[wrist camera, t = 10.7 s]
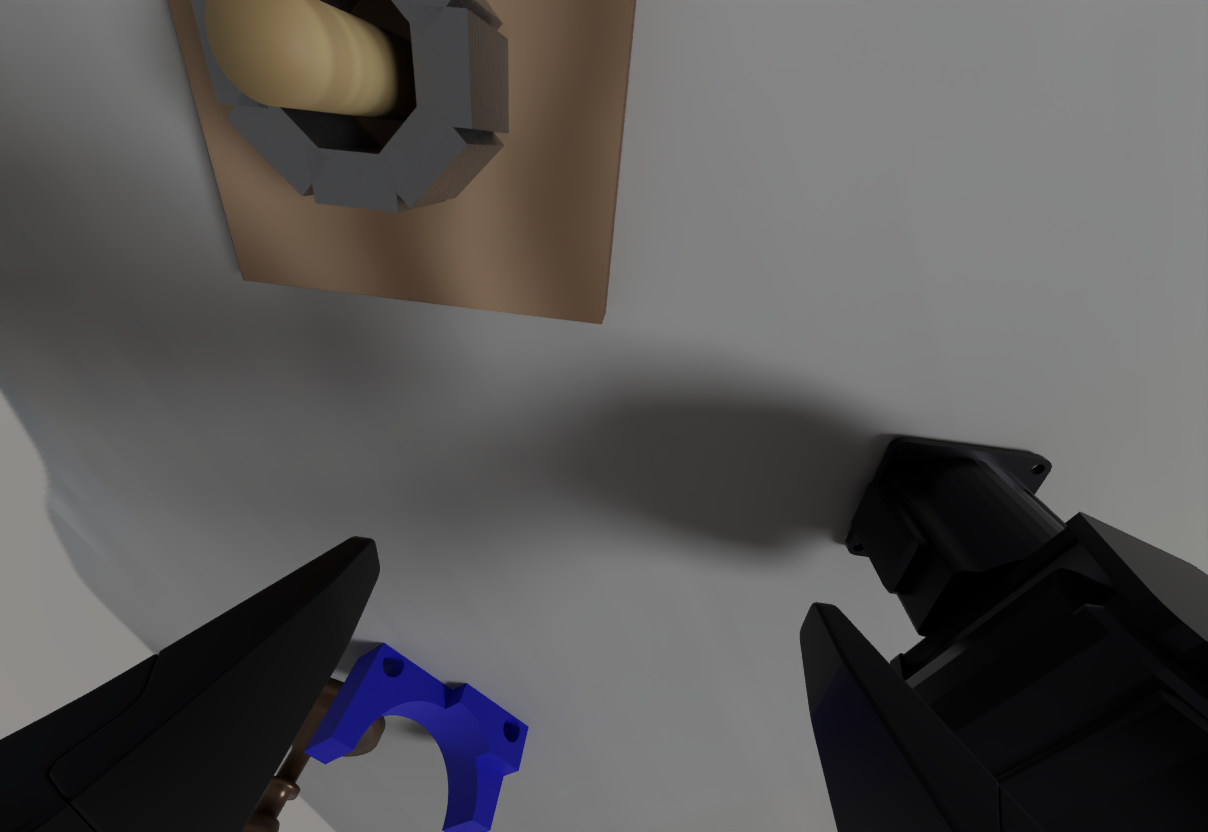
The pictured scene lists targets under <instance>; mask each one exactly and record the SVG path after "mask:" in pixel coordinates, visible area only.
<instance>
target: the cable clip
mask: <svg viewBox="0 0 1208 832" xmlns="http://www.w3.org/2000/svg"><path fill="white" fill-rule="evenodd" d="M387 715H399V716H404V717H407V718H410V719H412V720H415V721H416V722H418V723H419V724H421V725H422V726H423V727H425V728H426V729H427V730H428V731H429V732H430V733H431V735H432V736H433V738H434V739H435V740H436V742H437V744H438V746H439V748H440V750H441V752H442V755H443V758H444V761H445V765H446V770H447V776H448V805H447V812H446V817H445V822H444V825H443V829H442V831H444V832H487V831H490V829H491V825H492V821H493V817H494V813H495V809H496V805H497V801H498V797H499V792H500V788H501V784H502V780H503V776H505V775H508V774H511V773H513V772H516V771H519V767H520V762H521V758H522V753H523V749H524V744H525V740H526V735H527V731H528V726H527V725H525V724H524V723H523V722H521V721H520V720H518V719H517V718H515V717H514V716H513V715H511V714H510V713H508V712H507V711H506V710H504V709H503V708H501V707H500V706H498V705H497V704H496V703H494V702H493V701H491V700H490V699H488V698H487V697H486V696H484V695H483V694H481V693H480V692H479V691H477V690H476V689H474V688H473V687H471V686H470V685H469V684H467V683H466V684H464V685H462V686H460V687H458V688H456V689H454V690H452V689H450V688H449V687H447V686H446V685H444V684H443V683H442V682H440V681H439V680H437V679H436V678H434V677H433V676H431V675H430V674H429V673H427V672H426V671H424V670H423V669H421V668H420V667H418V666H417V665H415V664H414V663H413V662H411V661H410V660H408V659H407V658H405V657H404V656H402V655H401V654H400V653H398V652H397V651H395V650H394V649H392V648H391V647H389V646H388V645H387V644H385V643H383V644H381V645H379V646H378V647H376V648H375V649H373V650H371V651H370V652H368V653H367V654H365V655H363V656H362V657H360V658H359V659H358V660H357V662H356V663H355V665H354V667H353V669H352V670H351V672H350V674H349V675H348V677H347V679H346V680H345V682H344V684H343V686H342V687H341V689H340V691H339V692H338V694H337V696H336V697H335V699H334V701H333V703H332V704H331V706H330V708H329V709H328V711H327V713H326V714H325V716H324V718H323V719H322V721H321V723H320V725H319V726H318V728H317V730H316V731H315V733H314V735H313V736H312V738H311V740H310V742H309V743H308V745H307V747H306V748H305V750H304V753H306V754H308V755H309V756H311V757H313V758H315V759H317V760H318V761H320V762H322V763H324V764H327V763H329V762H331V761H333V760H335V759H337V758H339V757H341V756H343V755H345V754H347V753H349V752H351V751H353V750H354V749H355V747H356V745H357V743H358V742H359V740H360V739H361V737H362V736H363V734H364V733H365V731H366V730H367V729H368V728H369V727H370V725H371V724H372V723H373V722H374V721H375V720H376V719H378V718H379V717H381V716H387Z"/></svg>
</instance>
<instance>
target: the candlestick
mask: <svg viewBox="0 0 1208 832" xmlns="http://www.w3.org/2000/svg"><path fill="white" fill-rule="evenodd" d="M343 684H344V683H343V682H340V681H338V680H335V679H332V678H329V680H328V682H327V684H326V685H325V687H324V689H323V691H322V692H321V694H320V696H319V697H318V699H317V701H316V703H315V704H314V706H313V708H312V710H311V711H310V713H309V715H308V717H307V718H306V720H305V722H304V724H303V725H302V727H301V729H300V731H299V732H298V734H297V736H296V738H295V739H294V741H293V743H292V750H291V752H290V753H289V755H288V757H287V758H286V760H285V761H284V763H283V765H282V766H281V768H280V770H279V771H278V773H277V775H276V776H273V778H272V780H271V781H270V783H269V785H268V787H267V788H266V790H265V792H264V794H263V795H262V797H261V799H260V801H259V802H258V804H257V806H256V807H255V809H254V811H253V813H252V814H251V816H250V818H249V820H248V821H247V823H246V825H245V827H244V828H243V830H242V832H278V830H279V821H278V820H277V817H278V815H279V813H280V812H281V810H282V808H283V806H284V804H285V803H286V801H287V800H294V799H295V798H296V797H297V796H298V794H299V792H300V788H299V786H298V785H297V784H296V781H297V779H298V777H299V776H300V774H301V772H302V771H303V769H304V767H305V765H306V764H307V762H308V760H309V758H310V757H311V756H309V755H308V754H306V753H304V750H305V748H306V747H307V745H308V743H309V742H310V740H311V738H312V736H313V735H314V733H315V731H316V730H317V728H318V726H319V725H320V723H321V721H322V719H323V718H324V716H325V714H326V713H327V711H328V709H329V708H330V706H331V704H332V703H333V701H334V699H335V697H336V696H337V694H338V692H339V691H340V689H341V687H342V686H343ZM384 729H385V720H384V716H381V717H379V718H378V719H376V720H375V721H374V722H373V723H372V724H371V725H370V727H369V728H368V729H367V730H366V731H365V733H364V734H363V736H362V737H361V739H360V740H359V742H358V743H357V745H356V747H355V749H354V750H353V751H351V752H349V753H347V754H345V755H343V756H344V757H349V756H358V755H362V754H366V753H368V752H370V751H372V750H373V749H374V748H375V747H376V746H377V744H378V742H379V740H380V738H381V736H382V733H383V731H384Z"/></svg>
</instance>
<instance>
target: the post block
mask: <svg viewBox="0 0 1208 832" xmlns="http://www.w3.org/2000/svg"><path fill="white" fill-rule="evenodd" d="M486 1H487V2H488V4H489V5H490V6H491V8H492V9H493V10H494V12H495V13H496V14H497V16H498V17H499V18H500V20H501V21H502V23H503V24H502V25H501V26H500V28H499V29H498V30H497V31H498V32H499V33H501V34H502V35H503V36H505V37H506V38H507V39H508V80H509V133H502V132H494V133H495V134H496V136H497V137H498V138H499V139H500V141H501V142H502V143H503V144H504V147H503V148H502V149H501V150H500V151H499V152H498V153H497V154H496V155H495V156H494V157H493V158H492V160H491V161H490V162H489V163H488V164H487V165H486V166H485V167H484V168H483V169H482V170H481V171H480V172H479V174H478V175H477V176H476V177H475V178H474V179H473V180H472V181H471V182H470V183H469V184H468V185H467V186H466V187H465V189H464V190H463V191H462V192H461V193H460V194H459V195H458V196H457V197H456V198H452V199H447V200H446V201H444V202H440V203H436V204H432V205H428V206H423V207H419V208H415V209H411V210H406V211H402V212H390V211H381V210H372V209H362V208H353V207H344V206H335V205H326V204H316V203H315V198H314V195H309V196H301V195H300V194H299V193H298V192H297V191H296V190H295V189H294V188H293V187H292V186H291V185H290V184H289V183H288V182H287V180H286V179H285V178H284V177H283V176H282V175H281V174H280V173H279V172H278V171H277V170H276V169H275V168H274V167H273V166H272V165H271V164H270V163H269V162H268V161H267V160H266V159H265V158H264V157H263V156H262V155H261V154H260V153H259V152H258V151H257V150H256V149H255V148H254V147H253V146H252V145H251V144H250V143H249V142H248V141H247V140H246V139H245V138H244V137H243V136H242V135H241V134H240V133H239V132H238V131H237V130H236V129H235V128H234V127H233V126H232V125H231V124H230V123H229V122H228V121H227V118H228V116H229V115H230V113H231V112H232V110H233V108H234V107H235V105H228V104H218V103H217V101H216V97H215V93H214V90H213V86H212V82H211V78H210V74H209V70H208V66H207V62H206V58H205V55H204V51H203V47H202V43H201V39H200V35H199V31H198V27H197V23H196V19H195V16H194V12H193V8H192V4H191V0H168V3H169V7H170V11H171V14H172V18H173V22H174V26H175V29H176V33H177V37H178V40H179V44H180V48H181V52H182V55H183V59H184V63H185V66H186V70H187V74H188V77H189V81H190V85H191V89H192V92H193V96H194V100H195V103H196V107H197V111H198V115H199V118H200V122H201V126H202V129H203V133H204V137H205V140H206V144H207V148H208V152H209V155H210V159H211V163H212V166H213V170H214V174H215V178H216V181H217V185H218V189H219V192H220V196H221V200H222V203H223V207H224V211H225V215H226V218H227V222H228V226H229V229H230V233H231V237H232V241H233V244H234V248H235V252H236V255H237V259H238V263H239V266H240V270H241V274H242V278H243V280H246V281H254V282H263V283H271V284H279V285H287V286H295V287H303V288H311V289H319V290H328V291H336V292H344V293H352V294H360V295H368V296H376V297H384V298H393V299H401V300H409V301H417V302H425V303H433V304H441V305H449V306H458V307H466V308H474V309H482V310H490V311H498V312H506V313H515V314H523V315H531V316H539V317H547V318H555V319H563V320H571V321H580V322H588V323H596V324H602V322H603V319H604V316H605V313H606V303H607V293H608V283H609V272H610V262H611V252H612V242H613V232H614V221H615V211H616V201H617V191H618V181H619V170H620V160H621V150H622V140H623V130H624V119H625V109H626V99H627V89H628V79H629V68H630V58H631V48H632V38H633V28H634V17H635V7H636V0H486ZM205 28H206V33H207V38H208V41H209V45H210V47H211V50H212V52H213V55H214V57H215V59H216V61H217V63H218V64H219V66H220V68H221V69H222V71H223V72H224V74H225V75H226V76H227V78H228V79H229V80H230V81H231V82H232V83H233V85H235V86H236V87H237V88H238V89H239V90H240V91H241V92H242V93H244V94H245V95H246V96H248V97H249V98H251V99H253V100H255V101H257V102H259V103H262V104H265V105H269V106H275V107H284V108H293V109H301V110H310V111H318V112H327V113H336V114H344V115H353V116H355V117H356V119H357V120H358V121H359V122H360V123H361V124H362V125H363V126H364V127H365V129H366V130H367V131H368V132H369V133H370V134H371V135H372V136H373V138H374V139H375V140H376V141H377V142H378V143H379V144H380V145H381V147H382V148H384V147H385V146H386V144H387V143H388V142H389V141H390V139H391V138H392V137H393V136H394V134H395V133H396V132H397V131H398V129H399V128H400V127H401V126H402V124H403V123H404V122H405V121H406V119H407V118H408V117H409V116H410V114H411V113H412V112H413V111H414V109H415V108H416V107H417V101H416V89H415V78H414V66H413V54H412V43H411V31H410V23H409V22H408V21H407V19H406V18H405V17H404V16H403V14H402V13H401V12H400V11H399V9H398V8H397V7H396V6H395V4H394V3H393V2H392V1H391V0H359V1H358V2H357V4H356V5H355V6H354V8H353V9H352V11H351V12H350V14H349V13H347V12H345V11H342V10H340V9H338V8H336V7H333V6H331V5H329V4H327V3H324V2H322V1H320V0H206V3H205Z"/></svg>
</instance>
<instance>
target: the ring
mask: <svg viewBox="0 0 1208 832" xmlns="http://www.w3.org/2000/svg"><path fill="white" fill-rule="evenodd" d="M320 1H322V2H324V3H327V4H329V5H331V6H333V7H336V8H338V9H340V10H342V11H345V12H347V13H349V14H350V12H351V11H352V9H353V8H354V6H355V5H356V4H357V2H358V1H359V0H320ZM391 1H392V2H393V3H394V4H395V6H396V7H397V8H398V9H399V11H400V12H401V13H402V14H403V16H404V17H405V18H406V19H407V21H408V22H409V23H410V31H411V43H412V54H413V66H414V78H415V89H416V101H417V107H416V108H415V109H414V111H413V112H412V113H411V114H410V116H409V117H408V118H407V119H406V121H405V122H404V123H403V124H402V126H401V127H400V128H399V129H398V131H397V132H396V133H395V134H394V136H393V137H392V138H391V139H390V141H389V142H388V143H387V144H386V146H385V147H384V148H382V147H381V145H380V144H379V143H378V142H377V141H376V140H375V139H374V138H373V136H372V135H371V134H370V133H369V132H368V131H367V130H366V129H365V127H364V126H363V125H362V124H361V123H360V122H359V121H358V120H357V119H356V117H355V116H353V115H344V114H336V113H327V112H318V111H310V110H301V109H293V108H284V107H275V106H269V105H265V104H262V103H259V102H257V101H255V100H253V99H251V98H249V97H248V96H246V95H245V94H244V93H242V92H241V91H240V90H239V89H238V88H237V87H236V86H235V85H233V83H232V82H231V81H230V80H229V79H228V78H227V76H226V75H225V74H224V72H223V71H222V69H221V68H220V66H219V64H218V63H217V61H216V59H215V57H214V55H213V52H212V50H211V47H210V45H209V41H208V38H207V33H206V28H205V3H206V0H191V4H192V8H193V12H194V16H195V19H196V23H197V27H198V31H199V35H200V39H201V43H202V47H203V51H204V55H205V58H206V62H207V66H208V70H209V74H210V78H211V82H212V86H213V90H214V93H215V97H216V101H217V103H218V104H228V105H235V107H234V108H233V110H232V112H231V113H230V115H229V116H228V118H227V121H228V122H229V123H230V124H231V125H232V126H233V127H234V128H235V129H236V130H237V131H238V132H239V133H240V134H241V135H242V136H243V137H244V138H245V139H246V140H247V141H248V142H249V143H250V144H251V145H252V146H253V147H254V148H255V149H256V150H257V151H258V152H259V153H260V154H261V155H262V156H263V157H264V158H265V159H266V160H267V161H268V162H269V163H270V164H271V165H272V166H273V167H274V168H275V169H276V170H277V171H278V172H279V173H280V174H281V175H282V176H283V177H284V178H285V179H286V180H287V182H288V183H289V184H290V185H291V186H292V187H293V188H294V189H295V190H296V191H297V192H298V193H299V194H300V195H301V196H309V195H314V198H315V203H316V204H326V205H335V206H344V207H353V208H362V209H372V210H381V211H390V212H402V211H406V210H411V209H415V208H419V207H423V206H428V205H432V204H436V203H440V202H444V201H446V200H447V199H452V198H456V197H457V196H458V195H459V194H460V193H461V192H462V191H463V190H464V189H465V187H466V186H467V185H468V184H469V183H470V182H471V181H472V180H473V179H474V178H475V177H476V176H477V175H478V174H479V172H480V171H481V170H482V169H483V168H484V167H485V166H486V165H487V164H488V163H489V162H490V161H491V160H492V158H493V157H494V156H495V155H496V154H497V153H498V152H499V151H500V150H501V149H502V148H503V147H504V144H503V143H502V142H501V141H500V139H499V138H498V137H497V136H496V134H495V133H494V132H502V133H509V80H508V39H507V38H506V37H505V36H503V35H502V34H501V33H499V32H498V31H497V30H498V29H499V28H500V26H501V25H502V24H503V23H502V21H501V20H500V18H499V17H498V16H497V14H496V13H495V12H494V10H493V9H492V8H491V6H490V5H489V4H488V2H487V1H486V0H391Z"/></svg>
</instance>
